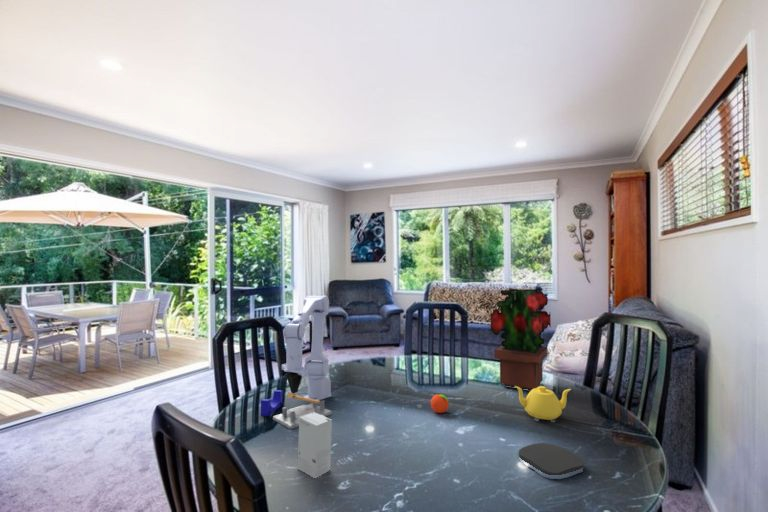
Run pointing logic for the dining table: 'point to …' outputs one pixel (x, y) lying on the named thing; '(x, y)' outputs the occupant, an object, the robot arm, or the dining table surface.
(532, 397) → the teapot
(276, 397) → the blue notched block
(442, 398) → the clementine
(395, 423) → the dining table surface
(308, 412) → the mount
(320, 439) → the skincare box
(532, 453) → the media streaming box
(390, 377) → the dining table surface
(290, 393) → the light brown wooden bar
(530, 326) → the potted plant
